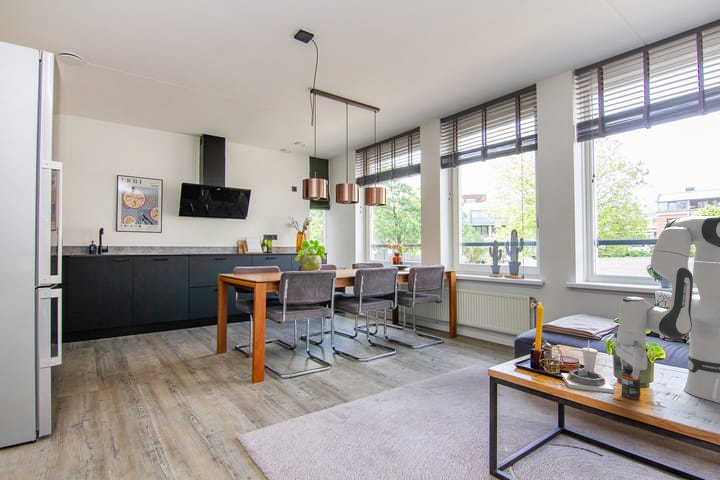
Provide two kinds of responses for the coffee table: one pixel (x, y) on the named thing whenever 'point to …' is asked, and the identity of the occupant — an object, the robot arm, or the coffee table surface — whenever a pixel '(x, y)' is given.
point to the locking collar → (579, 374)
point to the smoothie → (589, 358)
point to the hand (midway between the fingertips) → (629, 374)
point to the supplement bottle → (630, 384)
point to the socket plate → (572, 384)
